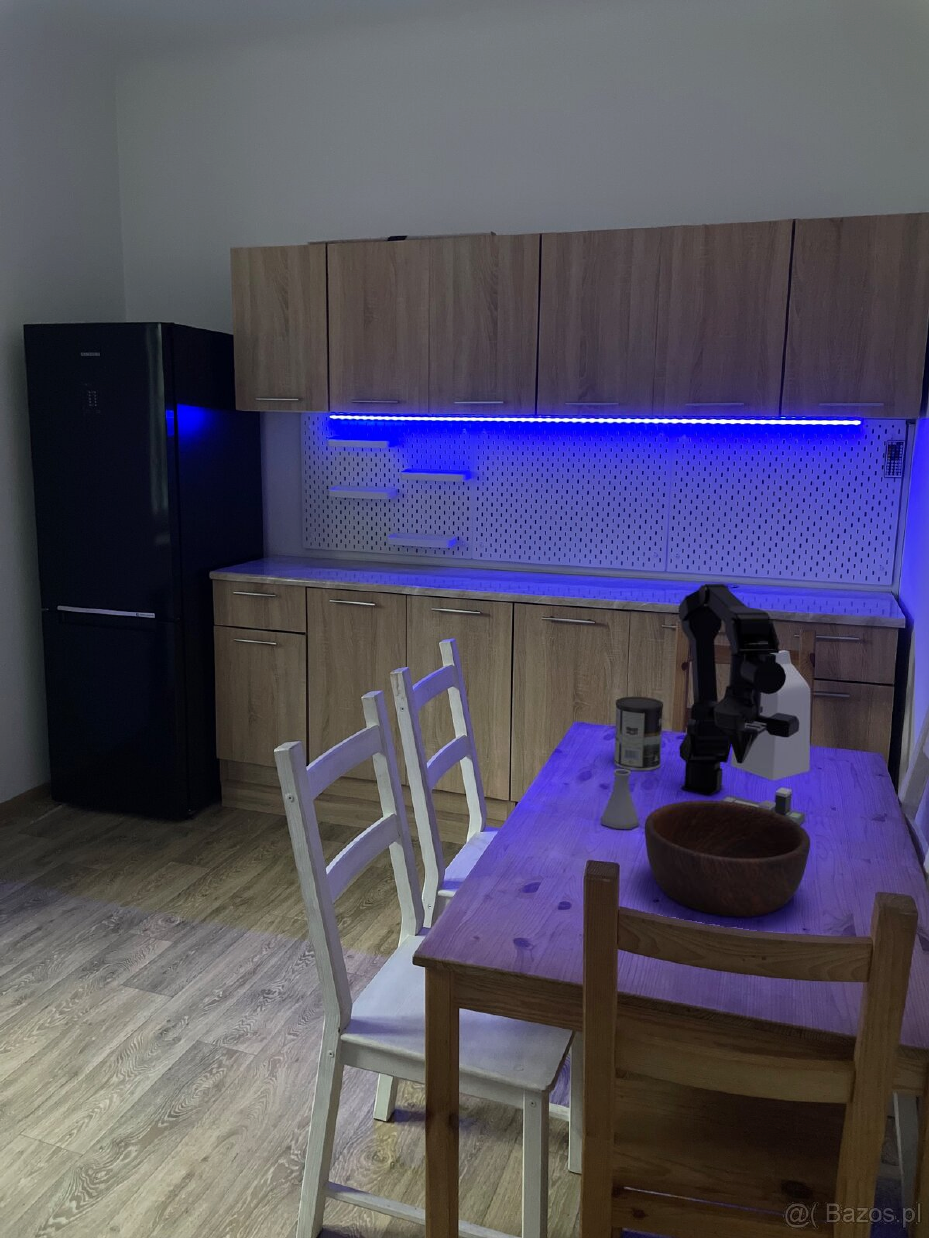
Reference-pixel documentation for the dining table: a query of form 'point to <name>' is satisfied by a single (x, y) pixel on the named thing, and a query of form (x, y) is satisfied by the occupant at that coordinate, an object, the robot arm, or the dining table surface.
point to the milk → (775, 752)
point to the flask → (620, 804)
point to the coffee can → (638, 733)
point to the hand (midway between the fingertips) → (740, 762)
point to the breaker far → (783, 800)
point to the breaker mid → (768, 805)
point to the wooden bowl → (726, 856)
